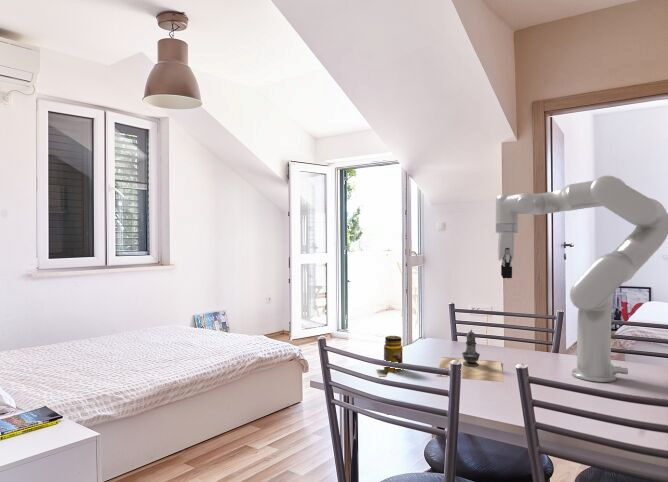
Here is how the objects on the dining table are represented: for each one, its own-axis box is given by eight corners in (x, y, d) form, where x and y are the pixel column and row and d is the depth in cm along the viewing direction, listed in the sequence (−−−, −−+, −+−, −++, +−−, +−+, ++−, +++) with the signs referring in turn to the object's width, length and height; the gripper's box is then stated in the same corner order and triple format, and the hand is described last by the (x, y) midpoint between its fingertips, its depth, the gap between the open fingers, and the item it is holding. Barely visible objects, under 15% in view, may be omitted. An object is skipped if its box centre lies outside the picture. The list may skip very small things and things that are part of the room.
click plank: (500, 364, 170) (500, 361, 170) (502, 376, 158) (502, 372, 158) (441, 360, 175) (441, 357, 175) (438, 371, 164) (438, 367, 164)
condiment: (405, 376, 158) (405, 339, 158) (379, 376, 158) (379, 339, 157) (401, 370, 165) (401, 334, 165) (376, 370, 165) (376, 334, 165)
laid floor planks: (502, 376, 158) (502, 372, 158) (503, 385, 148) (503, 381, 148) (438, 371, 163) (438, 367, 163) (436, 380, 154) (436, 376, 154)
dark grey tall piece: (482, 363, 168) (482, 328, 167) (477, 368, 163) (477, 332, 162) (465, 360, 171) (465, 326, 170) (459, 365, 166) (459, 330, 165)
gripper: (495, 229, 185) (494, 274, 186) (496, 228, 169) (496, 278, 169) (516, 229, 183) (515, 275, 183) (519, 228, 167) (519, 279, 167)
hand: (506, 277), depth 176 cm, fingers open, 9 cm apart
